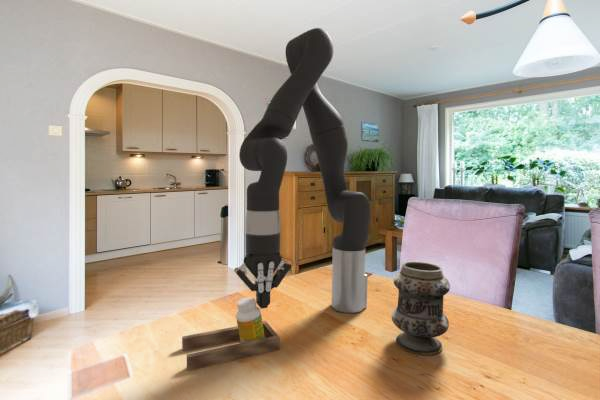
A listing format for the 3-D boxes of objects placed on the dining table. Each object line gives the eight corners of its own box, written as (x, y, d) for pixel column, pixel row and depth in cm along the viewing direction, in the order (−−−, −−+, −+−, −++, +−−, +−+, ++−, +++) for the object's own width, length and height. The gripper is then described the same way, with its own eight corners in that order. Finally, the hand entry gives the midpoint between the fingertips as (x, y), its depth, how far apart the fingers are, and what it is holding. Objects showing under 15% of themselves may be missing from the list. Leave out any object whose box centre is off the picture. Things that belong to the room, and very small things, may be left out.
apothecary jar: (445, 336, 78) (448, 261, 77) (450, 363, 67) (454, 276, 65) (392, 327, 82) (394, 256, 81) (388, 351, 71) (391, 269, 69)
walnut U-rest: (265, 331, 79) (265, 320, 79) (279, 349, 71) (279, 337, 71) (182, 348, 71) (182, 336, 71) (187, 370, 63) (187, 357, 63)
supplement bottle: (261, 349, 70) (253, 306, 69) (237, 349, 71) (229, 307, 70) (268, 335, 75) (261, 295, 74) (245, 335, 76) (239, 296, 75)
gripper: (284, 225, 78) (283, 296, 80) (228, 229, 72) (229, 305, 74) (297, 231, 71) (297, 308, 73) (237, 235, 66) (238, 319, 67)
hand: (263, 306), depth 73 cm, fingers closed
